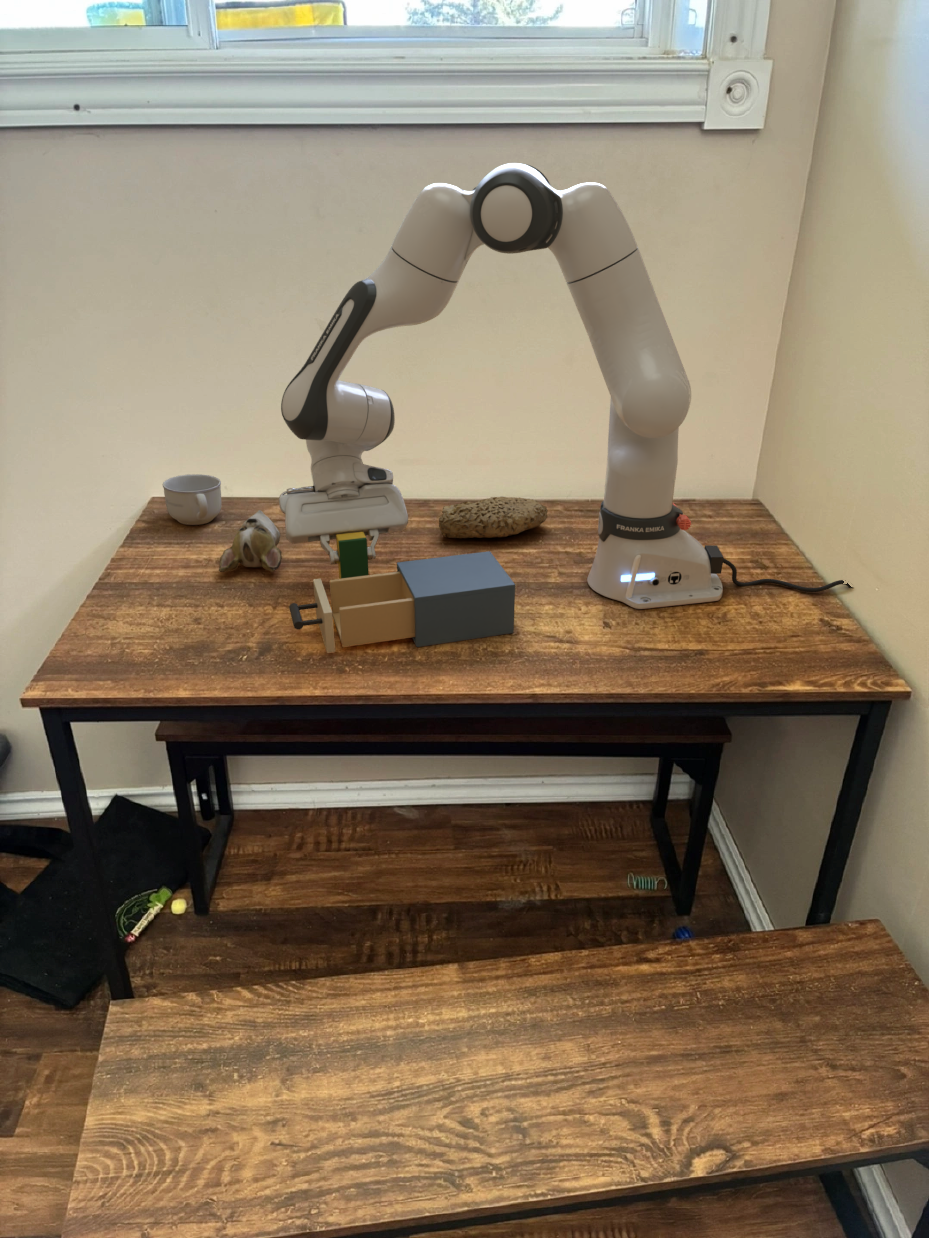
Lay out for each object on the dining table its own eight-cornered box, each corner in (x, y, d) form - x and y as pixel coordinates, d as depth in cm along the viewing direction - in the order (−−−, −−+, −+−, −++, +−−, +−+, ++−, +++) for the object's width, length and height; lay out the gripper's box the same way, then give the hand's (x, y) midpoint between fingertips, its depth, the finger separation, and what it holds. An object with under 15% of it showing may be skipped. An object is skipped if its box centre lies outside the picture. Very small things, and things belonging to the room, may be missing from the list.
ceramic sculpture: (288, 501, 159) (273, 540, 146) (293, 544, 164) (280, 585, 151) (229, 502, 159) (209, 540, 146) (236, 544, 164) (217, 585, 151)
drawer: (298, 657, 128) (294, 617, 124) (289, 621, 137) (285, 582, 134) (422, 639, 132) (421, 600, 129) (406, 605, 141) (404, 568, 138)
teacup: (168, 512, 177) (162, 474, 174) (223, 506, 180) (218, 469, 176) (169, 539, 166) (162, 499, 162) (228, 532, 169) (223, 493, 165)
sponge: (441, 551, 164) (547, 536, 161) (433, 511, 162) (541, 494, 158) (452, 536, 177) (551, 521, 173) (445, 497, 174) (544, 481, 171)
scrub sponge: (365, 580, 149) (363, 531, 144) (369, 588, 146) (366, 539, 142) (339, 583, 147) (335, 534, 143) (342, 592, 145) (339, 542, 140)
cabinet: (416, 647, 132) (415, 597, 128) (398, 609, 142) (396, 562, 138) (513, 633, 136) (515, 584, 131) (489, 597, 146) (490, 551, 142)
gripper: (277, 481, 142) (289, 561, 138) (401, 469, 147) (416, 546, 143) (277, 497, 148) (289, 574, 144) (396, 485, 153) (410, 560, 149)
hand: (353, 560), depth 144 cm, fingers closed on scrub sponge, 4 cm apart
